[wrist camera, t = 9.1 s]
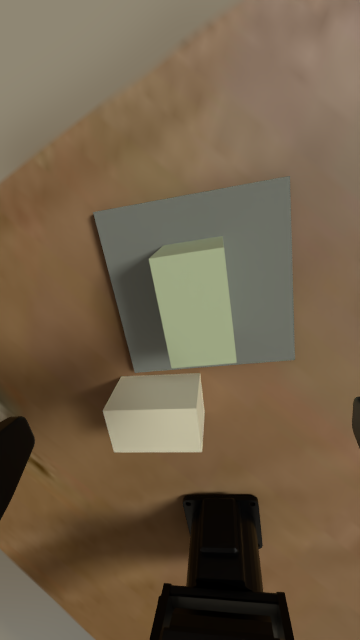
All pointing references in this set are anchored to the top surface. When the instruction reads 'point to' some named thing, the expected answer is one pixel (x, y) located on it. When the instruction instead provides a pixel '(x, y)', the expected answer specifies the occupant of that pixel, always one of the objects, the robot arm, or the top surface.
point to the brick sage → (194, 302)
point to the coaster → (241, 264)
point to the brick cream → (156, 413)
